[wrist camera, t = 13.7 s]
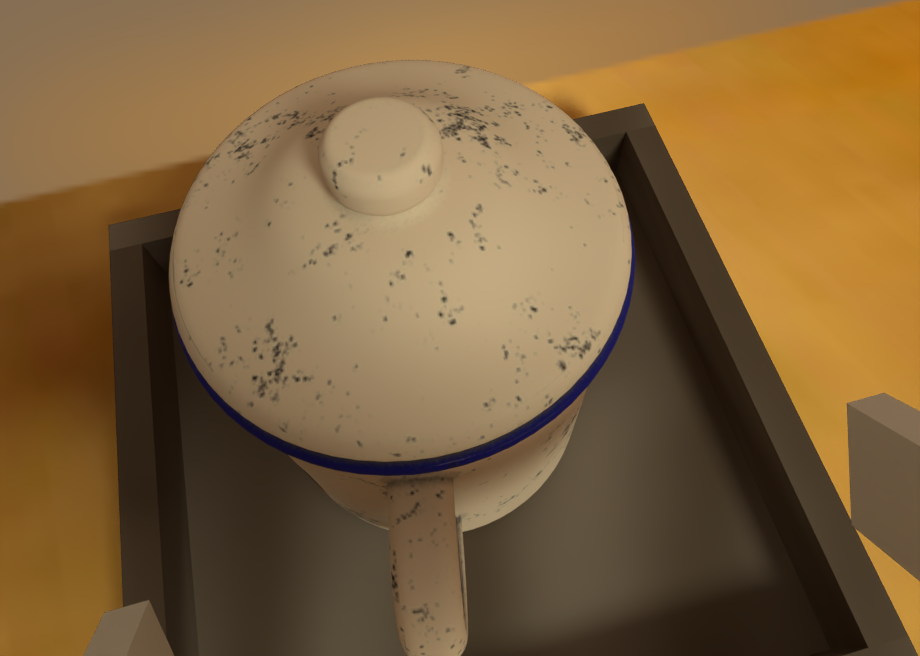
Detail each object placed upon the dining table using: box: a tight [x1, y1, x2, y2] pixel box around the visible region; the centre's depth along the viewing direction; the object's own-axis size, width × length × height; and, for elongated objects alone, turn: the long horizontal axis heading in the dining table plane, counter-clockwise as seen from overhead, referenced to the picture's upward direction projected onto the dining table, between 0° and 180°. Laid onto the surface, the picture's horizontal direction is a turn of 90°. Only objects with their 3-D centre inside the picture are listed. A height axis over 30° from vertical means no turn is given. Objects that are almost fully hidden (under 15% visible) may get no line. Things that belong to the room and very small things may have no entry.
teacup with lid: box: [169, 60, 635, 656], centre depth 15 cm, size 12×9×12 cm
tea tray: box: [109, 103, 918, 656], centre depth 20 cm, size 18×18×3 cm
